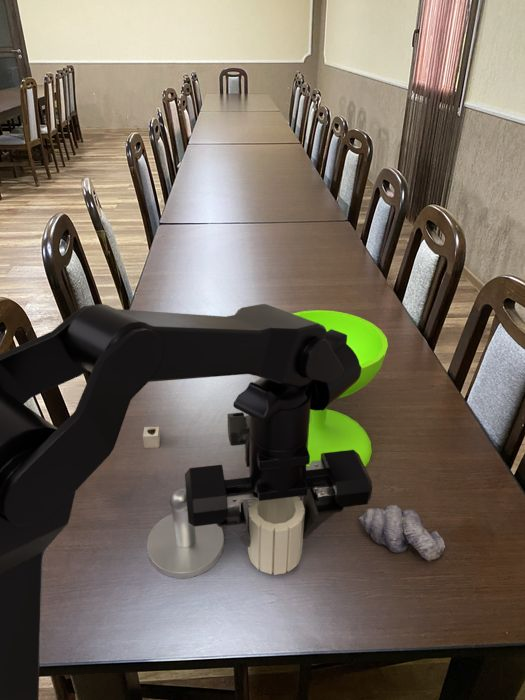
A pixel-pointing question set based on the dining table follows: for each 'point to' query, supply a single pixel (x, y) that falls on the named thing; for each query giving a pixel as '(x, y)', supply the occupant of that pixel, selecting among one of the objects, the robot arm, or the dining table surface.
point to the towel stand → (183, 542)
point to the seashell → (401, 531)
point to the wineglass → (331, 426)
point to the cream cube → (151, 437)
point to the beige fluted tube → (276, 534)
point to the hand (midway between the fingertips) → (275, 539)
